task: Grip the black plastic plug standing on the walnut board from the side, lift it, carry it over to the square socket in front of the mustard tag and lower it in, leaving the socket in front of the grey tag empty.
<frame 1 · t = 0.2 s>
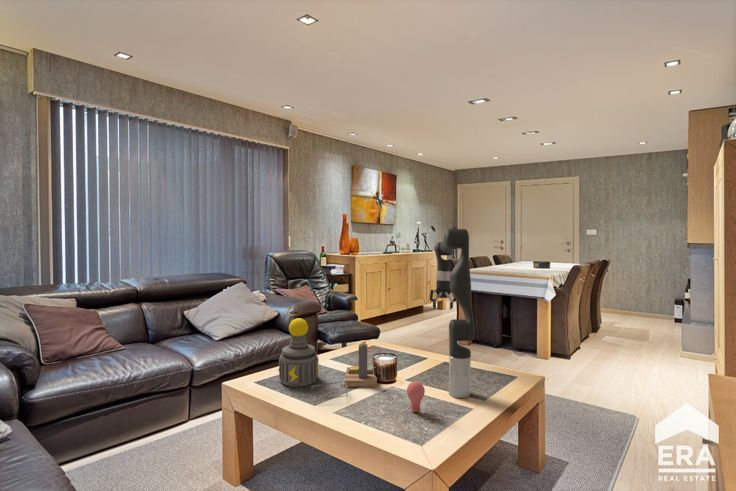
hand: (442, 309, 233), 29 cm above the table, fingers open, 8 cm apart
plug: (363, 376, 202), point 3 cm above the table, touching socket board
decorative lamp: (298, 380, 206), on the table
light bulb: (415, 412, 172), on the table
eyeglasses: (330, 397, 188), on the table
socket board: (361, 379, 207), on the table
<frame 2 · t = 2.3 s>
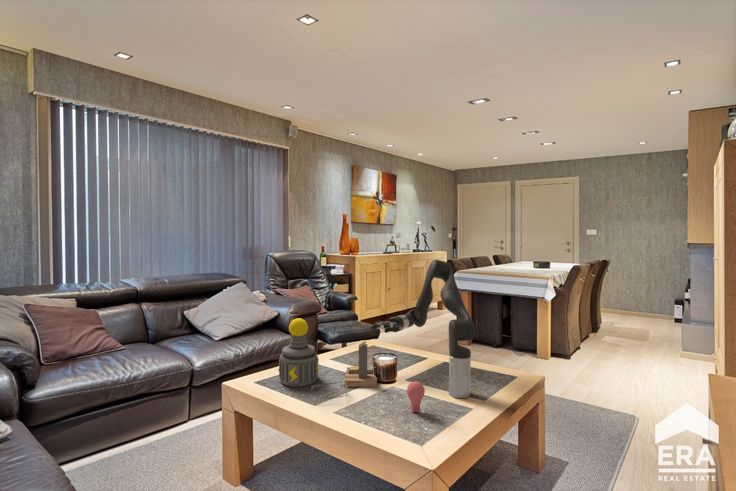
hand: (378, 329, 210), 24 cm above the table, fingers open, 8 cm apart
nothing on the table moved.
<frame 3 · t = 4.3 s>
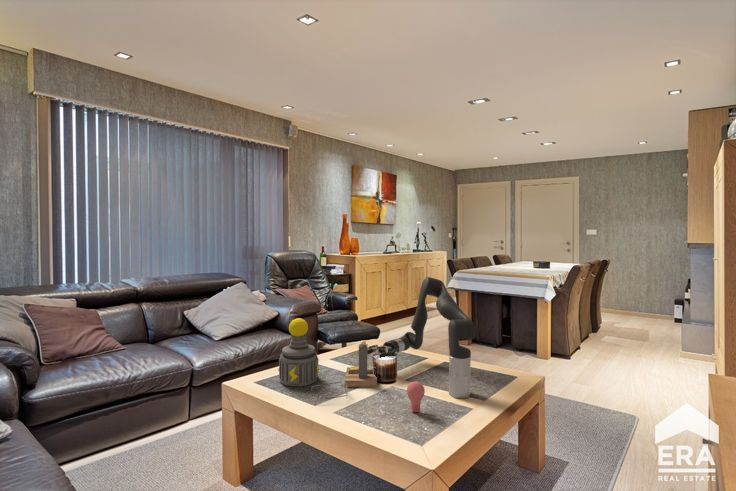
hand: (373, 354, 208), 12 cm above the table, fingers open, 8 cm apart
nothing on the table moved.
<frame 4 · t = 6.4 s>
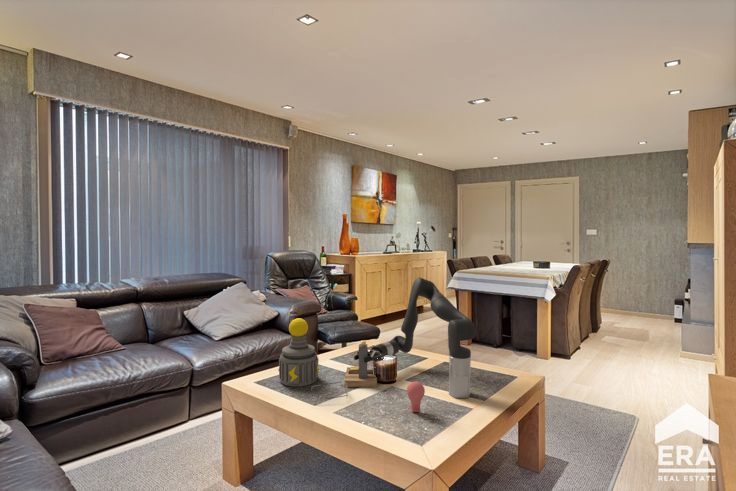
hand: (359, 359, 200), 12 cm above the table, fingers closed on plug, 5 cm apart
plug: (363, 376, 202), point 3 cm above the table, touching gripper, socket board
everything else where it was.
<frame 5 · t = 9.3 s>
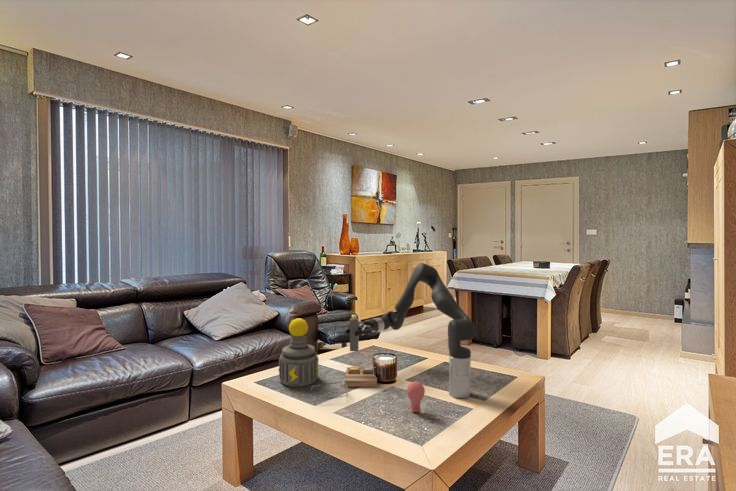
hand: (350, 332, 206), 23 cm above the table, fingers closed on plug, 5 cm apart
plug: (354, 349, 208), point 14 cm above the table, touching gripper
everything else where it was.
when the fingers open (11 cm above the table, at t = 12.4 s): plug drops 2 cm, resting in socket board.
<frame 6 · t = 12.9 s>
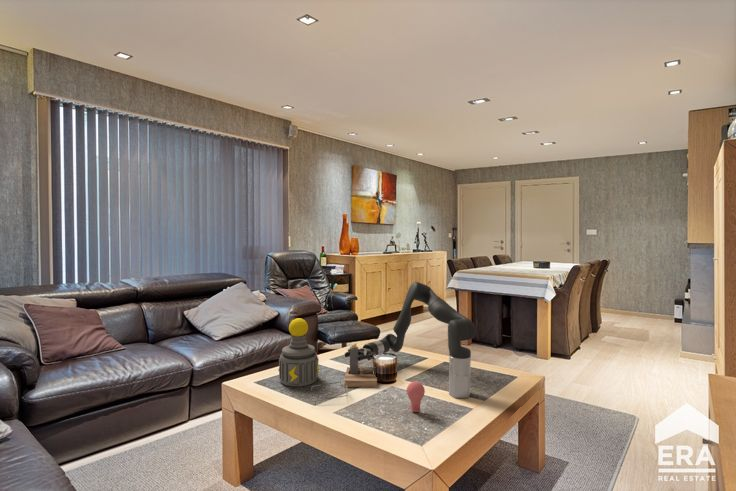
hand: (351, 356, 207), 11 cm above the table, fingers open, 8 cm apart
plug: (354, 378, 209), resting in socket board
everything else where it was.
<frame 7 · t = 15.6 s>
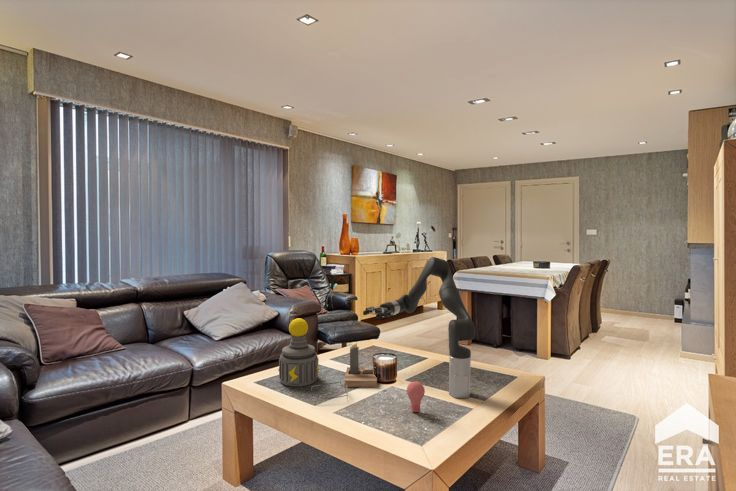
hand: (370, 314, 215), 30 cm above the table, fingers open, 8 cm apart
nothing on the table moved.
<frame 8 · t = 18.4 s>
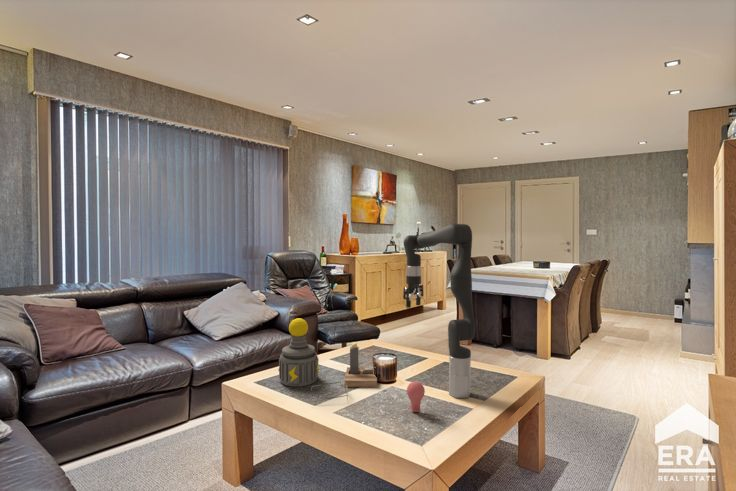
hand: (413, 306, 218), 33 cm above the table, fingers open, 8 cm apart
nothing on the table moved.
at the end: plug 0.1 cm from the target spot on the socket board, point 0.0 cm above the socket board's base; plug tilted 0°; the gripper is holding nothing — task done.
